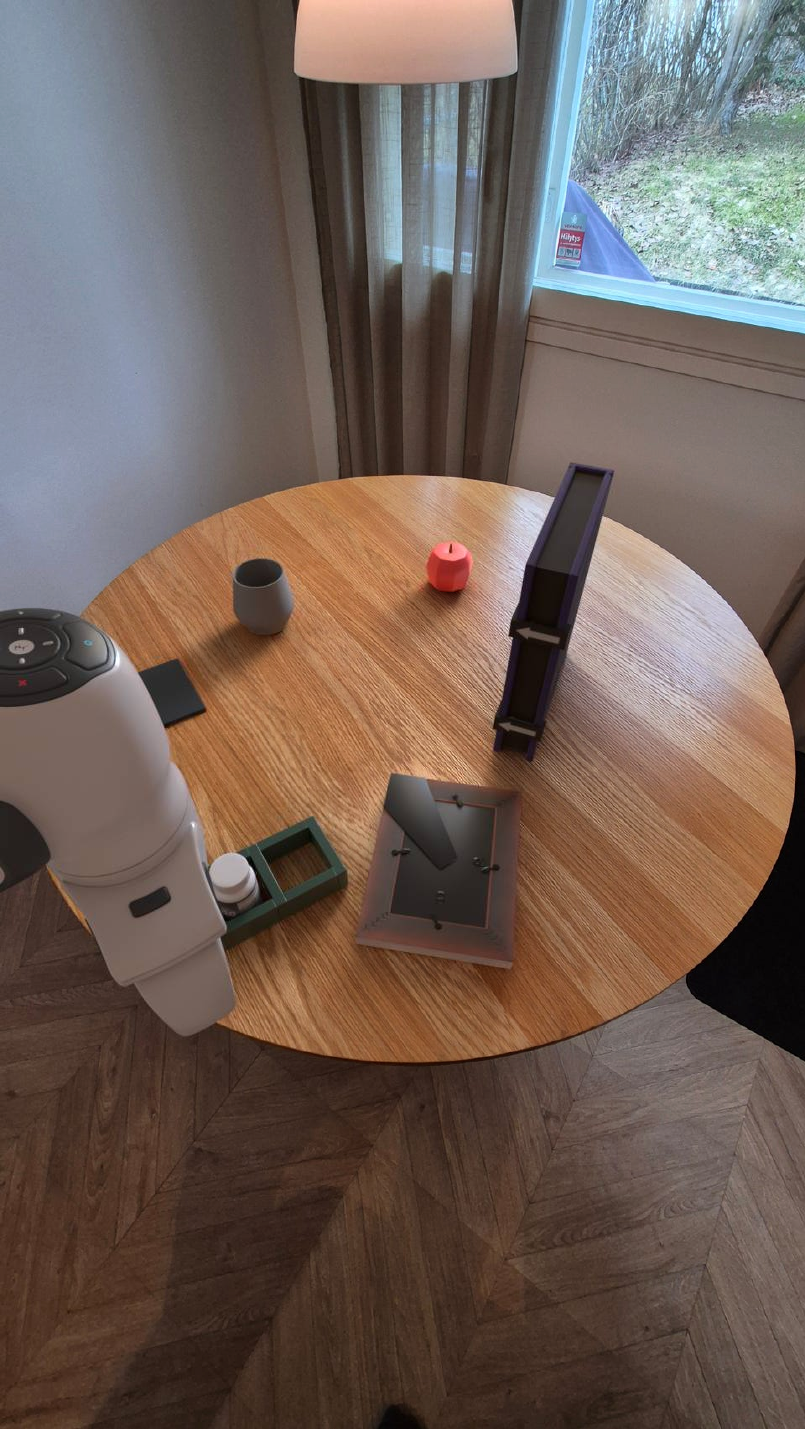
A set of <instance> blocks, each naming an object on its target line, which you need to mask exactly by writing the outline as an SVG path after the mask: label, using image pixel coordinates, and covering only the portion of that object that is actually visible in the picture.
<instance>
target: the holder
mask: <svg viewBox="0 0 805 1429" xmlns="http://www.w3.org/2000/svg"><path fill="white" fill-rule="evenodd" d="M331 843H332V842H330V840H329V839H328V837H327V835H326V834H325V832H324V831H323V829H322V827H321V825H320V824H319V822H318V821H317V818H315V815H312V816H309V817H307V818H306V819H303V820H300V821H299V822H297V823H295V824H292V825H291V826H289V827H286V828H284V829H281V830H280V831H278V832H276V833H274V834H272V835H270V836H268V837H265V838H264V839H261V840H259V841H258V842H256V843H254V844H251V845H250V846H247V847H244V848H243V849H240V850H239V851H236V853H237V854H240V855H242V856H243V857H244V858H245V859H246V860H247V862H248V865H249V866H250V867H251V868H252V869H253V871H254V872H255V874H256V875H257V878H258V879H259V881H260V883H261V885H262V887H263V889H264V891H265V893H266V895H267V897H268V899H269V900H267V901H264V902H263V904H261V905H259V906H257V907H255V908H253V909H251V910H249V911H247V912H245V913H243V914H242V915H240V916H238V917H236V918H234V919H232V920H230V921H228V922H225V923H226V926H227V931H226V933H225V934H224V935H223V936H221V937H220V938H221V942H222V945H223V949H224V952H225V953H226V952H227V951H229V950H230V949H232V948H234V947H236V946H238V945H240V944H241V943H243V942H245V941H247V940H250V939H251V938H252V937H255V936H256V935H258V934H261V933H262V932H264V931H266V930H268V929H270V928H272V927H274V926H275V925H277V924H279V923H281V922H283V921H285V920H286V919H288V918H290V917H291V916H294V915H296V914H298V913H300V912H302V911H303V910H306V909H307V908H309V907H311V906H313V905H314V904H316V903H318V902H321V901H322V900H324V899H326V898H327V897H330V896H332V895H333V894H335V893H337V892H339V891H341V890H343V889H344V888H347V887H348V886H349V878H348V870H347V868H346V866H345V865H344V863H343V861H342V860H341V858H340V856H339V855H338V853H337V851H336V850H335V848H334V847H333V845H332V844H331ZM310 844H311V845H312V846H313V847H312V848H314V850H315V852H316V854H317V855H318V857H319V858H320V860H321V862H322V863H323V865H324V867H325V870H324V871H321V872H320V873H318V874H316V875H315V876H313V877H310V878H309V879H307V880H305V881H303V882H301V883H299V884H297V885H295V886H293V887H291V888H289V889H287V890H285V891H284V892H283V891H282V889H281V887H280V885H279V883H278V882H277V879H276V877H275V876H274V873H273V872H272V870H271V868H270V866H269V865H270V864H272V863H274V862H276V861H278V860H280V859H282V858H284V857H286V856H288V855H291V854H292V853H294V852H296V851H298V850H300V849H302V848H304V847H306V846H309V845H310ZM211 865H212V864H210V865H208V871H209V870H210V867H211Z"/></svg>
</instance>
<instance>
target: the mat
mask: <svg viewBox="0 0 805 1429" xmlns="http://www.w3.org/2000/svg"><path fill="white" fill-rule="evenodd" d="M137 672H138V674H139V676H140V677H141V679H142V681H143V683H144V685H145V686H146V688H147V690H148V692H149V694H150V696H151V698H152V701H153V703H154V705H155V707H156V709H157V712H158V714H159V716H160V719H161V721H162V723H163V726H164V728H166V727H168V726H171V725H173V724H176V723H178V722H181V721H183V720H184V721H185V720H186V719H188V718H191V717H194V716H196V715H199V714H201V713H205V712H207V708H206V706H205V704H204V703H203V701H202V699H201V697H200V695H199V693H198V692H197V690H196V689H195V687H194V685H193V683H192V681H191V679H190V677H189V676H188V674H187V672H186V670H185V669H184V667H183V665H182V663H181V662H180V660H179V658H178V657H176V658H174V659H171V660H168V661H165V662H163V663H159V664H157V665H154V666H152V667H148V668H145V669H142V670H141V671H137Z"/></svg>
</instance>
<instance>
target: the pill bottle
mask: <svg viewBox="0 0 805 1429" xmlns="http://www.w3.org/2000/svg"><path fill="white" fill-rule="evenodd" d="M210 865H211V867H210V870H209V874H210V877H211V881H212V885H213V888H214V891H215V894H216V897H217V900H218V902H219V905H220V908H221V910H222V912H223V914H222V917H223V919H224V921H225V923H226V922H228V921H230V920H232V919H234V918H236V917H238V916H240V915H242V914H243V913H245V912H247V911H249V910H251V909H253V908H255V907H257V906H259V905H261V904H263V903H264V900H263V896H262V893H261V891H260V887H259V883H258V880H257V877H256V872H255V871H253V869H252V868H251V867H250V866H249V865H248V862H247V860H246V859H245V858H244V857H243V856H242V855H240V854H237V852H227V853H224V854H222V855H220V856H218V857H217V858H216V859H214V861H213V862H212V863H211V864H210Z"/></svg>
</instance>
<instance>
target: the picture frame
mask: <svg viewBox="0 0 805 1429" xmlns="http://www.w3.org/2000/svg"><path fill="white" fill-rule="evenodd" d="M521 808H522V791H520V790H512V789H505V788H500V787H499V788H498V787H497V788H496V787H491V786H483V785H476V784H469V783H461V782H453V781H448V780H447V781H446V780H439V779H432V778H426V777H424V776H417V775H408V774H401V773H393V772H390V775H389V780H388V783H387V789H386V792H385V797H384V801H383V806H382V812H381V817H380V821H379V826H378V830H377V834H376V839H375V844H374V847H373V848H374V849H373V854H372V857H371V862H370V867H369V871H368V874H367V880H366V884H365V885H366V886H365V889H364V894H363V898H362V899H363V900H362V902H361V907H360V913H359V917H358V922H357V925H356V930H355V935H354V939H355V944H356V945H361V946H366V947H367V946H368V947H373V948H380V949H385V950H390V951H391V950H392V951H397V952H403V953H410V954H415V955H423V956H429V957H434V958H440V959H445V960H452V961H459V962H465V963H470V964H476V965H484V966H489V967H495V968H501V969H508V970H512V967H513V964H514V954H515V953H514V952H515V936H516V934H515V933H516V932H515V931H516V915H517V914H516V912H517V911H516V910H517V890H518V871H519V870H518V869H519V850H520V828H521Z"/></svg>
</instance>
